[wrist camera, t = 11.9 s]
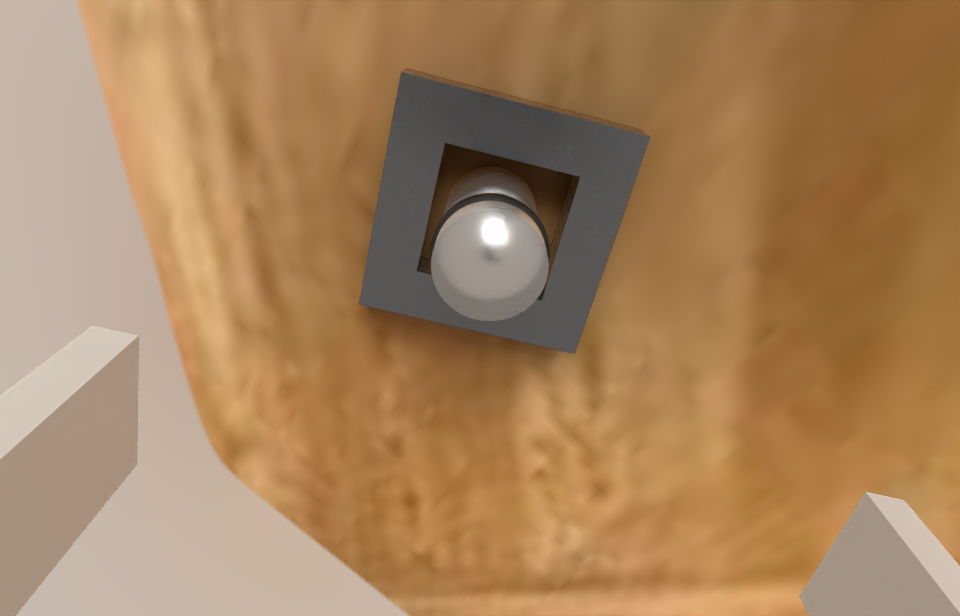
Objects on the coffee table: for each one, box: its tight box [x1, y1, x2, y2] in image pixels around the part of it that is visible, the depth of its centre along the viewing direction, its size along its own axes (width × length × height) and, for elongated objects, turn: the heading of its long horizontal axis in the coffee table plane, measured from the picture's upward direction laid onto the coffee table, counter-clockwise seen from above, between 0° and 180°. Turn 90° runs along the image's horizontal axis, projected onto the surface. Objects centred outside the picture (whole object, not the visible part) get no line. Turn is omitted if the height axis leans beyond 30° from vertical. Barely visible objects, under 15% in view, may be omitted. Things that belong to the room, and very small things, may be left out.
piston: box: [430, 166, 550, 321], centre depth 27 cm, size 5×5×8 cm
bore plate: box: [359, 69, 650, 354], centre depth 30 cm, size 11×11×2 cm
